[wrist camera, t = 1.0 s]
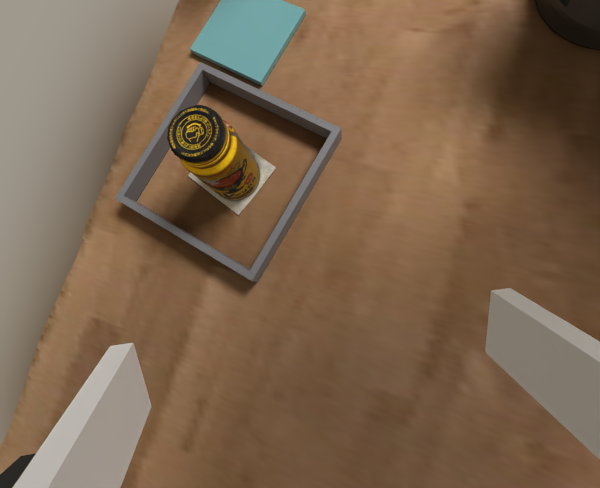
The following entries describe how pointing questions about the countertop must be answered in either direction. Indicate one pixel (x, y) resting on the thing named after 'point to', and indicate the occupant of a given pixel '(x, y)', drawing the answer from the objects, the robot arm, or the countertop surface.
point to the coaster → (248, 36)
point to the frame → (161, 146)
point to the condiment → (217, 157)
